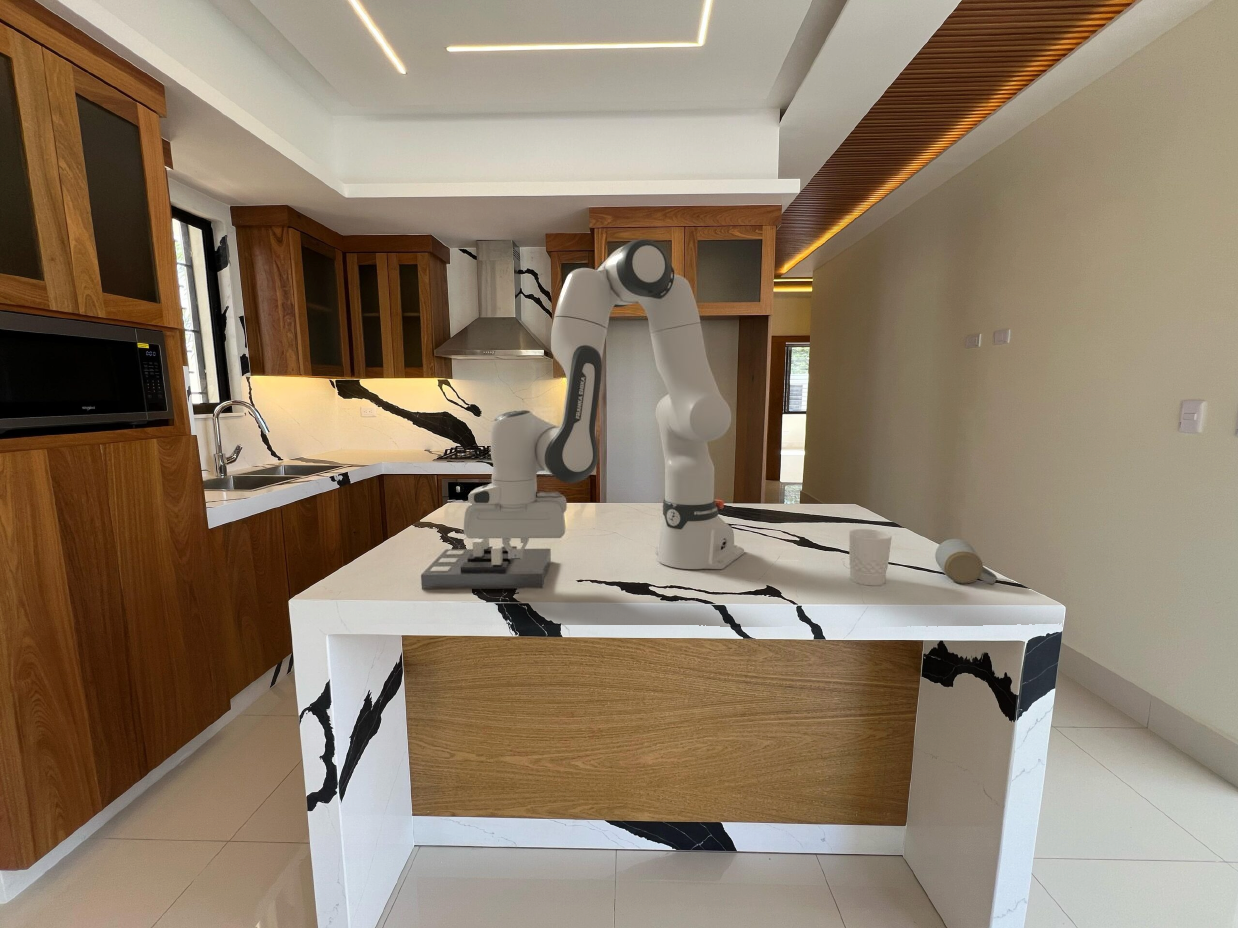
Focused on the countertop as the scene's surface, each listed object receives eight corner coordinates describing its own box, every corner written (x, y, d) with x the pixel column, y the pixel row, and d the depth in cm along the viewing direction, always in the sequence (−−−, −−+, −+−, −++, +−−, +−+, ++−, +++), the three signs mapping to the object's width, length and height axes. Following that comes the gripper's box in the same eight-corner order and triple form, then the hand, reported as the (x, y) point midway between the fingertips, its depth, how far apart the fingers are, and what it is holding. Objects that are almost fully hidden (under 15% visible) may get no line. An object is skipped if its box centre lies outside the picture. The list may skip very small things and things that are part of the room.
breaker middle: (483, 553, 119) (483, 538, 119) (481, 556, 117) (481, 541, 117) (475, 553, 119) (475, 538, 119) (473, 556, 117) (472, 541, 117)
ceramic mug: (942, 583, 113) (946, 547, 112) (933, 570, 121) (936, 536, 120) (1002, 590, 110) (1007, 552, 109) (988, 576, 118) (993, 541, 116)
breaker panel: (550, 561, 127) (550, 544, 127) (542, 587, 111) (541, 568, 110) (446, 561, 127) (445, 545, 126) (421, 589, 110) (420, 569, 110)
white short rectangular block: (489, 545, 125) (488, 532, 124) (487, 548, 123) (486, 534, 122) (481, 545, 125) (480, 532, 124) (479, 548, 122) (478, 534, 122)
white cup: (877, 590, 109) (881, 541, 108) (839, 579, 115) (842, 533, 114) (894, 580, 115) (898, 534, 113) (857, 571, 120) (860, 526, 119)
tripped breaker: (502, 561, 114) (502, 546, 113) (500, 564, 112) (500, 549, 111) (493, 561, 114) (493, 546, 113) (491, 564, 112) (491, 549, 111)
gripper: (567, 488, 114) (568, 553, 116) (468, 489, 114) (470, 553, 116) (565, 495, 108) (566, 563, 110) (459, 495, 107) (462, 563, 109)
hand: (516, 558), depth 113 cm, fingers closed
